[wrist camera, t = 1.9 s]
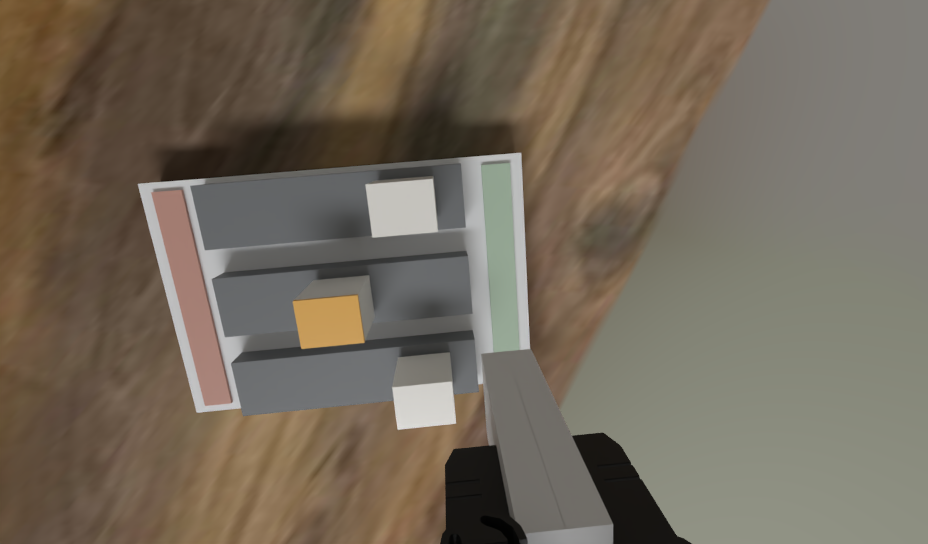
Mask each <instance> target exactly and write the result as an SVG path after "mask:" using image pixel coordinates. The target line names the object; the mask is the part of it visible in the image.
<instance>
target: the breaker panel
mask: <svg viewBox="0 0 928 544" xmlns="http://www.w3.org/2000/svg"><path fill="white" fill-rule="evenodd" d="M426 176H433V177H434V188H435V199H436V209H437V220H438V232H432V233H421V234H409V235H398V236H387V237H375V238H372V231H371V224H370V216H369V208H368V201H367V193H366V186H365V184H368V183H371V182H373V181H378V180H390V179H402V178H414V177H426ZM138 187H139V191H140V194H141V198H142V202H143V206H144V210H145V214H146V218H147V221H148V225H149V229H150V233H151V237H152V241H153V245H154V249H155V252H156V256H157V260H158V264H159V268H160V272H161V276H162V280H163V283H164V287H165V291H166V295H167V299H168V303H169V307H170V311H171V314H172V318H173V322H174V326H175V330H176V334H177V338H178V341H179V345H180V349H181V353H182V357H183V361H184V365H185V369H186V372H187V376H188V380H189V384H190V388H191V392H192V396H193V400H194V403H195V407H196V411H197V413H198V412H208V411H218V410H228V409H238V408H241V410H242V414H243V416H248V415H258V414H268V413H277V412H287V411H297V410H307V409H317V408H326V407H336V406H346V405H356V404H366V403H375V402H385V401H394V398H393V390H392V386H393V381H394V375H395V370H396V365H397V360H398V357H406V356H416V355H426V354H436V353H447V352H450V358H451V369H452V379H453V390H454V394H463V393H473V392H479V388H478V384H483V373H482V360H481V354H482V353H493V352H504V351H514V350H525V349H530V338H529V315H528V293H527V271H526V249H525V226H524V204H523V182H522V160H521V153H511V154H498V155H486V156H474V157H462V158H449V159H437V160H425V161H413V162H400V163H388V164H376V165H363V166H351V167H339V168H327V169H314V170H302V171H290V172H278V173H265V174H253V175H241V176H229V177H216V178H204V179H192V180H179V181H167V182H155V183H143V184H138ZM366 275H369V278H370V286H371V293H372V300H373V307H374V315H375V317H374V320H373V322H372V325H371V327H370V330H369V332H368V335H367V338H366V340H365V343H358V344H348V345H338V346H328V347H317V348H307V349H301V345H300V339H299V334H298V328H297V323H296V318H295V312H294V307H293V300H294V299H295V298H296V297H297V296H298V295H299V294H300V293H301V292H302V291H303V290H304V289H305V288H306V287H307V286H308V285H309V284H310V283H311V282H312V281H313V280H322V279H333V278H344V277H355V276H366Z"/></svg>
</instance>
